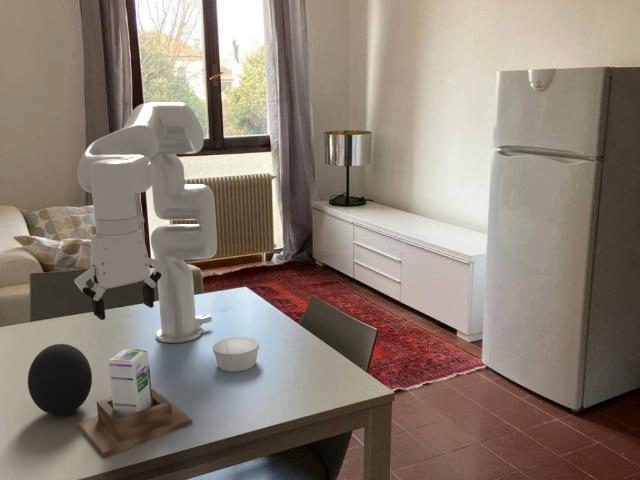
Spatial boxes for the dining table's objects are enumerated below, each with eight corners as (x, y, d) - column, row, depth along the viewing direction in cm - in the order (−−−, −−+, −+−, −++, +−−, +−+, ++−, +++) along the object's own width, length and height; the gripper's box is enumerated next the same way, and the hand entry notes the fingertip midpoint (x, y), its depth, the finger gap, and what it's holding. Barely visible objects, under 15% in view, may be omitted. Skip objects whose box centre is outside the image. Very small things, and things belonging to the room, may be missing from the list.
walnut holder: (161, 398, 132) (160, 377, 131) (191, 423, 122) (190, 401, 120) (79, 426, 121) (76, 404, 120) (104, 457, 110) (101, 433, 109)
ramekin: (205, 365, 148) (203, 345, 147) (239, 351, 156) (238, 332, 155) (233, 378, 141) (232, 358, 140) (268, 363, 149) (267, 343, 148)
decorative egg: (31, 432, 119) (21, 363, 116) (33, 404, 130) (24, 340, 127) (97, 419, 124) (89, 352, 120) (93, 393, 135) (86, 331, 131)
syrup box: (141, 429, 118) (134, 361, 114) (113, 426, 119) (106, 359, 115) (154, 415, 123) (149, 349, 120) (128, 412, 124) (122, 347, 121)
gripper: (151, 216, 120) (158, 297, 124) (62, 229, 109) (73, 317, 113) (168, 222, 114) (175, 306, 118) (76, 237, 104) (87, 328, 108)
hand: (125, 311), depth 116 cm, fingers open, 9 cm apart
